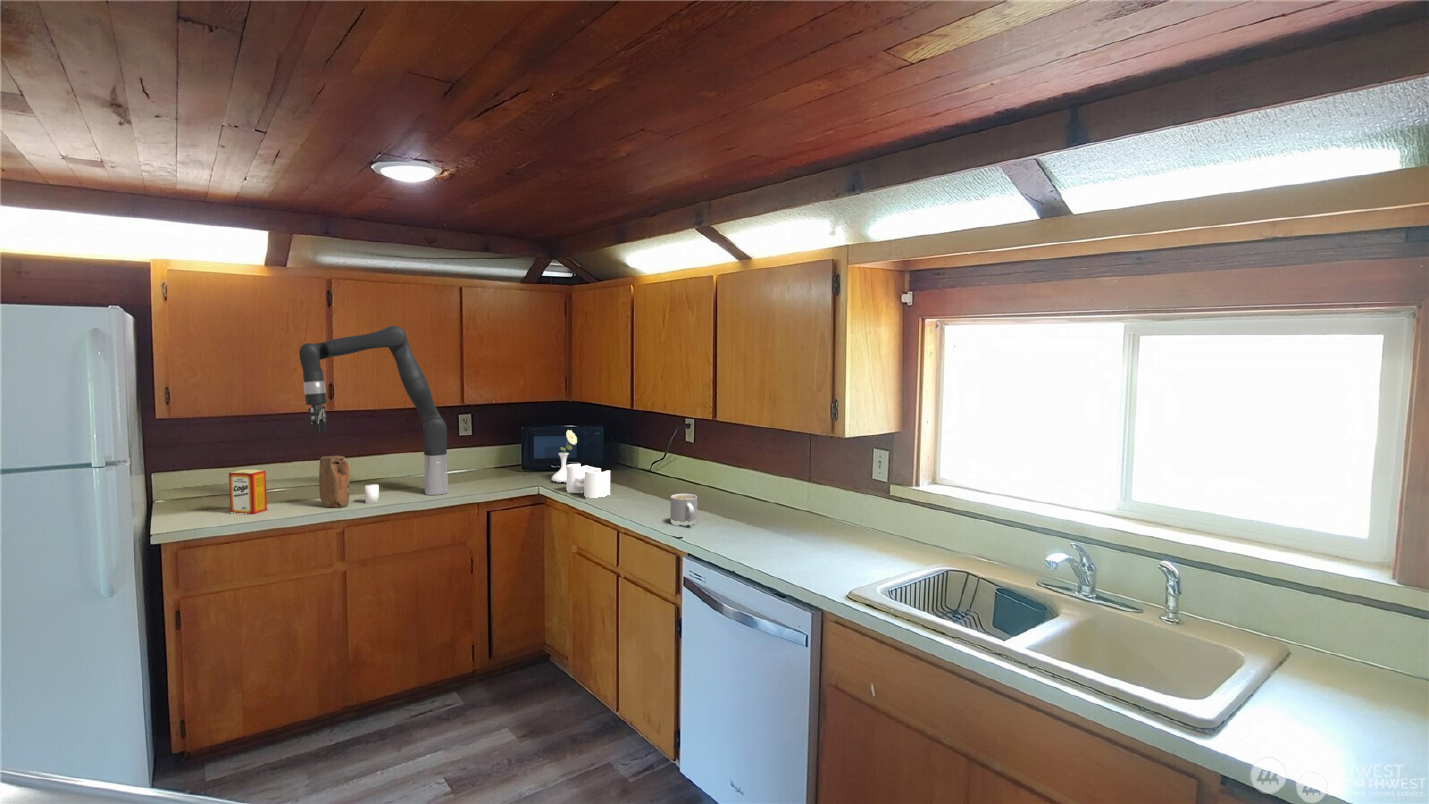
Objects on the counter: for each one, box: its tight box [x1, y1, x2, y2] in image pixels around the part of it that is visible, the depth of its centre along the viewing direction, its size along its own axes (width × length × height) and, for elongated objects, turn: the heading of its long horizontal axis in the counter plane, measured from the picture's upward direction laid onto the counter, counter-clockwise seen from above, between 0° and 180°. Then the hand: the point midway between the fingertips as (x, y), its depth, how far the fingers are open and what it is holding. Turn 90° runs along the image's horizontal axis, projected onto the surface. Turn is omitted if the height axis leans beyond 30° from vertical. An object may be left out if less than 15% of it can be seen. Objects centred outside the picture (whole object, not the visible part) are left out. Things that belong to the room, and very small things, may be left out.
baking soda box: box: [228, 469, 268, 515], centre depth 254 cm, size 10×6×16 cm
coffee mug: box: [670, 493, 698, 522], centre depth 249 cm, size 13×10×10 cm
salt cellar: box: [364, 483, 380, 504], centre depth 273 cm, size 5×5×7 cm
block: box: [318, 455, 351, 509], centre depth 266 cm, size 11×8×20 cm
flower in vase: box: [551, 429, 578, 483], centre depth 321 cm, size 13×11×25 cm
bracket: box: [565, 463, 611, 498], centre depth 294 cm, size 25×10×12 cm, turn 45°
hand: (319, 432), depth 271 cm, fingers open, 8 cm apart
